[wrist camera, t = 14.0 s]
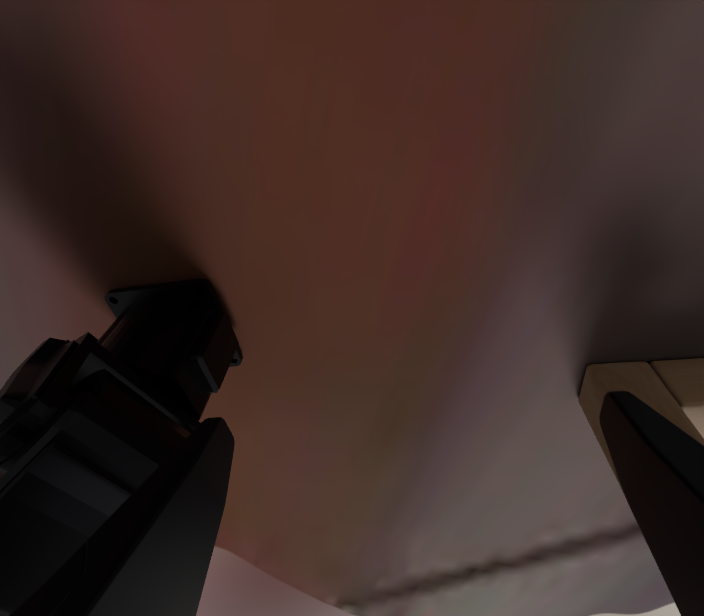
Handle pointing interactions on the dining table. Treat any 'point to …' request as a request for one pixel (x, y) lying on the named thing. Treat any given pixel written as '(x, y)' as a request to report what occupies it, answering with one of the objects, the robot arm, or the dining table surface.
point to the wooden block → (649, 392)
